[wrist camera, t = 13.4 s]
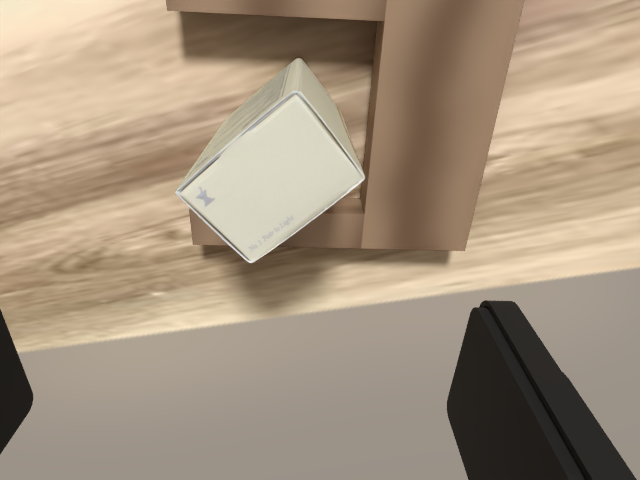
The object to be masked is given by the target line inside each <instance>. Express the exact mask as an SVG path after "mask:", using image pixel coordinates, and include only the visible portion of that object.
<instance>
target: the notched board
mask: <svg viewBox="0 0 640 480" xmlns="http://www.w3.org/2000/svg"><path fill="white" fill-rule="evenodd" d="M166 4H167V11H185V12H206V13H227V14H247V15H268V16H288V17H309V18H330V19H350V20H371V21H377V30H376V41H375V51H374V62H373V72H372V82H371V93H370V103H369V113H368V124H367V134H366V144H365V155H364V165H363V173H364V175H365V179H364V181H363V182H362V186H361V196H360V199H357V198H341V199H340V200H338V201H337V202H336V203H335V204H333V205H332V206H331V207H329V208H328V209H327V210H325V211H324V212H323V213H322V214H320V215H319V216H318V217H317V218H315V219H314V220H312V221H311V222H310V223H308V224H307V225H306V226H305V227H303V228H302V229H301V230H299V231H298V232H296V233H295V234H294V235H292V236H291V237H289V238H288V239H287V240H285V241H284V242H283V243H281V244H280V245H278V246H277V247H318V248H361V249H404V250H447V251H465V248H466V244H467V240H468V236H469V232H470V227H471V223H472V219H473V215H474V211H475V206H476V202H477V198H478V194H479V189H480V185H481V181H482V177H483V173H484V168H485V164H486V160H487V156H488V151H489V147H490V143H491V139H492V135H493V130H494V126H495V122H496V118H497V113H498V109H499V105H500V101H501V97H502V92H503V88H504V84H505V80H506V75H507V71H508V67H509V63H510V59H511V54H512V50H513V46H514V42H515V37H516V33H517V29H518V25H519V21H520V16H521V12H522V8H523V4H524V0H166ZM189 213H190V222H191V231H192V240H193V245H228V244H227V243H226V242H225V241H224V240H222V239H221V237H220V236H219V235H218V234H217V233H215V232H214V231H213V230H212V229H211V228H210V227H209V226H208V225H207V224H206V223H205V222H204V221H203V220H202V219H201V218H200V217H199V216H198V215H197V214H196V213H195V212H194V211H193V210H192V209H191V208H190V209H189Z"/></svg>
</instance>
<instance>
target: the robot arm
mask: <svg viewBox="0 0 640 480" xmlns="http://www.w3.org/2000/svg"><path fill="white" fill-rule="evenodd" d="M32 402H33V393H32V390H31V387H30V384H29V382H28V379H27V377H26V374H25V372H24V369H23V366H22V364H21V361H20V359H19V356H18V354H17V351H16V348H15V346H14V343H13V341H12V338H11V336H10V333H9V330H8V328H7V325H6V323H5V320H4V318H3V315H2V312H1V310H0V454H1V452H2V451H3V449H4V448H5V447H6V445H7V444H8V442H9V441H10V439H11V438H12V436H13V435H14V433H15V432H16V430H17V429H18V427H19V426H20V424H21V423H22V421H23V420H24V418H25V417H26V416H27V414H28V412H29V411H30V409H31V406H32ZM447 413H448V418H449V421H450V424H451V427H452V430H453V433H454V436H455V439H456V442H457V445H458V448H459V452H460V455H461V458H462V461H463V464H464V467H465V470H466V473H467V476H468V479H469V480H636V478H635V477H634V475H633V474H632V472H631V471H630V469H629V468H628V467H627V465H626V463H625V462H624V460H623V459H622V458H621V456H620V454H619V453H618V451H617V450H616V448H615V447H614V446H613V444H612V442H611V441H610V439H609V438H608V437H607V435H606V433H605V432H604V431H603V429H602V428H601V426H600V425H599V423H598V422H597V420H596V419H595V417H594V416H593V414H592V413H591V411H590V410H589V408H588V407H587V405H586V404H585V403H584V401H583V399H582V398H581V396H580V395H579V393H578V392H577V390H576V389H575V388H574V386H573V385H572V383H571V382H570V380H569V379H568V378H567V377H566V375H565V374H564V373H563V372H562V371H561V370H560V368H559V367H558V365H557V364H556V362H555V361H554V360H553V358H552V356H551V355H550V353H549V352H548V350H547V349H546V347H545V346H544V344H543V343H542V341H541V340H540V338H539V337H538V335H537V334H536V332H535V331H534V330H533V328H532V327H531V325H530V323H529V322H528V320H527V319H526V317H525V316H524V314H523V313H522V311H521V310H520V308H519V307H518V306H517V304H516V303H515V302H512V301H483V302H482V303H481V305H480V307H479V308H473V309H472V311H471V313H470V317H469V321H468V324H467V328H466V332H465V336H464V340H463V343H462V347H461V351H460V355H459V358H458V362H457V366H456V369H455V373H454V377H453V381H452V384H451V388H450V392H449V396H448V400H447Z"/></svg>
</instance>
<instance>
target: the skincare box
mask: <svg viewBox="0 0 640 480" xmlns="http://www.w3.org/2000/svg"><path fill="white" fill-rule="evenodd" d="M364 179H365V175H364V173H363V170H362V167H361V165H360V162H359V159H358V157H357V154H356V151H355V149H354V146H353V143H352V141H351V138H350V135H349V133H348V130H347V127H346V125H345V122H344V119H343V116H342V113H341V111H340V110H339V108H338V107H337V106H336V104H335V103H334V101H333V100H332V99H331V97H330V96H329V94H328V93H327V92H326V90H325V89H324V88H323V86H322V85H321V84H320V82H319V81H318V80H317V78H316V77H315V75H314V74H313V73H312V72H311V70H310V69H309V68H308V66H307V65H306V64H305V62H304V61H303V60H302V59H301V58H296V59H295V60H294V61H293V62H291V63H290V64H289V65H288V66H286V67H285V68H284V69H283V70H282V71H280V72H279V73H278V74H277V75H276V76H274V77H273V78H272V79H271V80H270V81H268V82H267V83H266V84H265V85H264V86H263V87H261V88H260V89H259V90H258V91H257V92H256V93H254V94H253V95H252V96H251V97H250V98H249V99H248V100H246V101H245V102H244V103H243V104H242V105H241V106H240V107H239V108H238V109H236V110H235V111H234V112H233V113H232V114H231V115H230V116H229V117H228V118H227V119H226V120H225V121H224V122H223V124H222V125H221V127H220V128H219V130H218V131H217V132H216V134H215V135H214V137H213V138H212V140H211V141H210V142H209V144H208V145H207V147H206V148H205V150H204V151H203V152H202V154H201V155H200V157H199V158H198V160H197V161H196V162H195V164H194V165H193V167H192V168H191V170H190V171H189V173H188V174H187V175H186V177H185V178H184V179H183V181H182V183H181V184H180V185H179V187H178V188H177V190H176V193H175V194H176V195H177V196H178V197H179V198H181V199H182V200H183V201H184V202H185V203H186V204H187V205H188V207H189V208H191V209H192V210H193V211H194V212H195V213H196V214H197V215H198V216H199V217H200V218H201V219H202V220H203V221H204V222H205V223H206V224H207V225H208V226H209V227H210V228H211V229H212V230H213V231H214V232H215V233H217V234H218V235H219V236H220V237H221V239H222V240H224V241H225V242H226V243H227V244H228V245H229V246H230V247H231V248H232V249H234V250H235V251H236V252H237V253H238V254H239V255H240V256H241V257H243V258H244V259H245V260H246V261H247V262H248V263H253V262H255V261H257V260H258V259H260V258H261V257H263V256H264V255H265V254H267V253H268V252H270V251H271V250H273V249H274V248H276V247H277V246H278V245H280V244H281V243H283V242H284V241H285V240H287V239H288V238H289V237H291V236H292V235H294V234H295V233H296V232H298V231H299V230H301V229H302V228H303V227H305V226H306V225H307V224H308V223H310V222H311V221H312V220H314V219H315V218H317V217H318V216H319V215H320V214H322V213H323V212H324V211H325V210H327V209H328V208H329V207H331V206H332V205H333V204H335V203H336V202H337V201H338V200H340V199H341V198H342V197H344V196H345V195H346V194H347V193H349V192H350V191H352V190H353V189H354V188H355V187H356V186H358V185H359V184H360V183H361V182H363V181H364Z"/></svg>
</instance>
